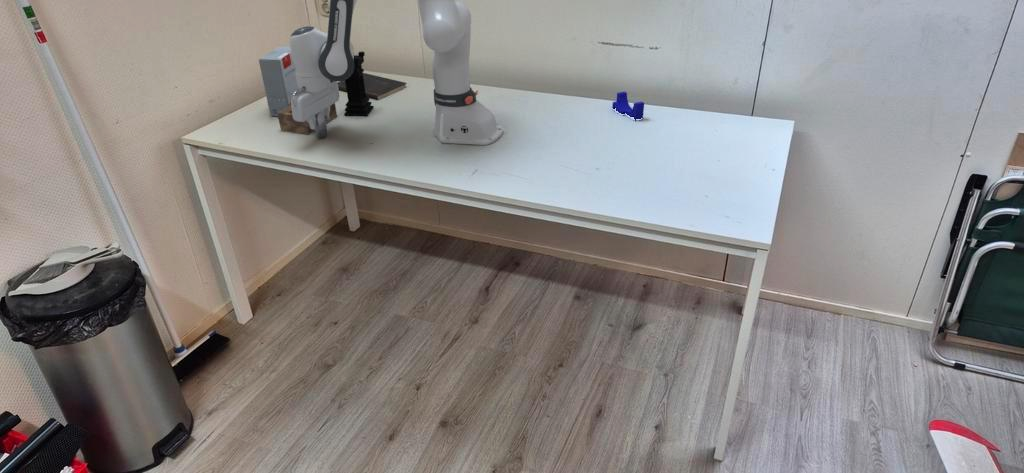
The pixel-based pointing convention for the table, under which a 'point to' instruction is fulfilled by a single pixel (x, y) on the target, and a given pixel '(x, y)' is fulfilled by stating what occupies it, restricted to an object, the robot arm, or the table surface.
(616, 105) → the cable clip
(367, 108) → the chess piece
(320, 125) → the pin
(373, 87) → the hardcover book
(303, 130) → the bore block
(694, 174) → the table surface
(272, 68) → the hard drive box
